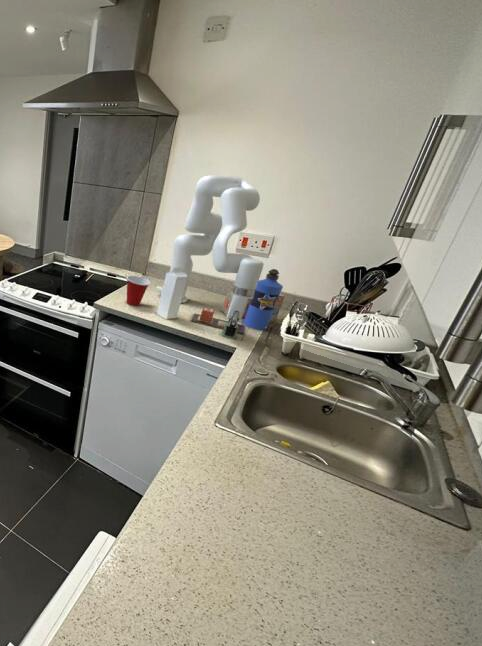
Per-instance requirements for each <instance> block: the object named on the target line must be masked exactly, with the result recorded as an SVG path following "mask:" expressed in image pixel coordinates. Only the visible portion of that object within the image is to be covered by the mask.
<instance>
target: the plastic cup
mask: <svg viewBox="0 0 482 646" xmlns="http://www.w3.org/2000/svg"><path fill="white" fill-rule="evenodd" d="M151 284H152V282H151V281H150V280H149V279H147V278H145V277H142V276H139V275H127V276H126V304H128V305H129V306H132V307H133V306H134V307H135V306H136V307H138V306H140V304H141V302H142V299H143V298H144V295H145V293H146V290H147V289H148V287H149V286H150V285H151Z"/></svg>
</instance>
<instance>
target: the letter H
mask: <svg viewBox="0 0 482 646" xmlns="http://www.w3.org/2000/svg"><path fill="white" fill-rule="evenodd" d="M200 315H201V316H200V320H202V321H206V322H210V323H211V321H212V318H214V315H215V309H213V308H208V307H203V308H202V310H201V314H200Z"/></svg>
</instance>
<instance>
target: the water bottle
mask: <svg viewBox="0 0 482 646" xmlns="http://www.w3.org/2000/svg"><path fill="white" fill-rule="evenodd" d="M279 277H280V272H279V271H278V269H275V268H271V269H270V270H268V273H266V276H265V278H264V279H259V281H258V284H257V287H256V290H255V293H254V296H253V299H252V301H251V303H250V305H249V308H248V311H247V313H246V316H245V318H244V319H243V322H242V323H243V324H242V325H244V326H246V327H248V328H250V329H253V330H258V331H266V330H267V329H268V327H269V324H270V322H271V321H270V319H271V316H272V313H273V311H274V306H275V302H276V300H277V298H278V296H279V294H280V293H281V294H282V291H283V288H284V286H283V285H282V284H281V283H280V282H278V280H279ZM266 326H268V327H267V328H265V327H266Z"/></svg>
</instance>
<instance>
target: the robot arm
mask: <svg viewBox="0 0 482 646" xmlns="http://www.w3.org/2000/svg"><path fill="white" fill-rule="evenodd" d="M214 198H220V211H221V214H220V213H217V212H212V209H213V207H214ZM260 200H261V197H260V193H259V191H258V190H257V189H256V188H255V187H254V186H253V185H251V184H250V183H249V182H248V181H247V180H245V179H244V178H242V177H240V176H232V175H231V176H230V175H221V174H208V175H204V176H202V177H201V178H200V179H199V180H198V181H197V183H196V185H195V188H194V194H193V200H192V203H191V206H190V208H189V211H188V214H187V216H186V219H185V222H184V223H185V224H184V229H185V231H186V232H188V233H189V234H187V233H184V234H180V235H178V236H177V237H176V238H175V239H174V242H173V253H172V260H171V263H170V269H169V272H171V271H173V268H175V267H184V270H183V271H184V272H185V274H186V275H187V280H186V284H185V288H184V292H183V295H182V299H181V303H180V304H183V303H187V302H188V297H187V296H186V294H187V290H188V285H189V282H190V278H191V275H192V271H193V267H194V262H193V259H192V256H198V257H199V256H203V257H204V256H208V255H209V254H211V255H212V265H213V268H214V270H215V271H216V272H218V273H222V274H223V273H224V274H236V276H235V280H234V282H233V285H232V289H231V291H230V293H232V294H233V298H232V301H231V304H230V307H229V310H228V313H227V315H226V320H228V323H229V325H228V326H227V329H226V332H225V335H226V336H230V337H234V335H235V332H236V329H237V324H239V323H240V322H241V321H242V318H243V317H242V316H243V313H244V311H245V308H246V305H247V302H248V299H249V298H253V296H254V293H255V290H256V287H257V284H258V281H259V280H260V278H261V275H262V272H263V269H264V262H263V260H260V259H256V258H254V257H252V256H251V255H249V254H247V253H233V252H232V253H231V252H228V243H229V240H230V239H231V237H232V236H233V235H234V234H237V233H239V232H242V231H244V230H245V229H246V228H247V226H248V222H247V221H248V220H247V212H251V211H254V210H255V209H257V207H259V204H260V202H261V201H260ZM211 252H212V253H211ZM162 290H163V287H161V286H158V285H157V286H156V287H155V291H157V292H160V297H161V294H162Z"/></svg>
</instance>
